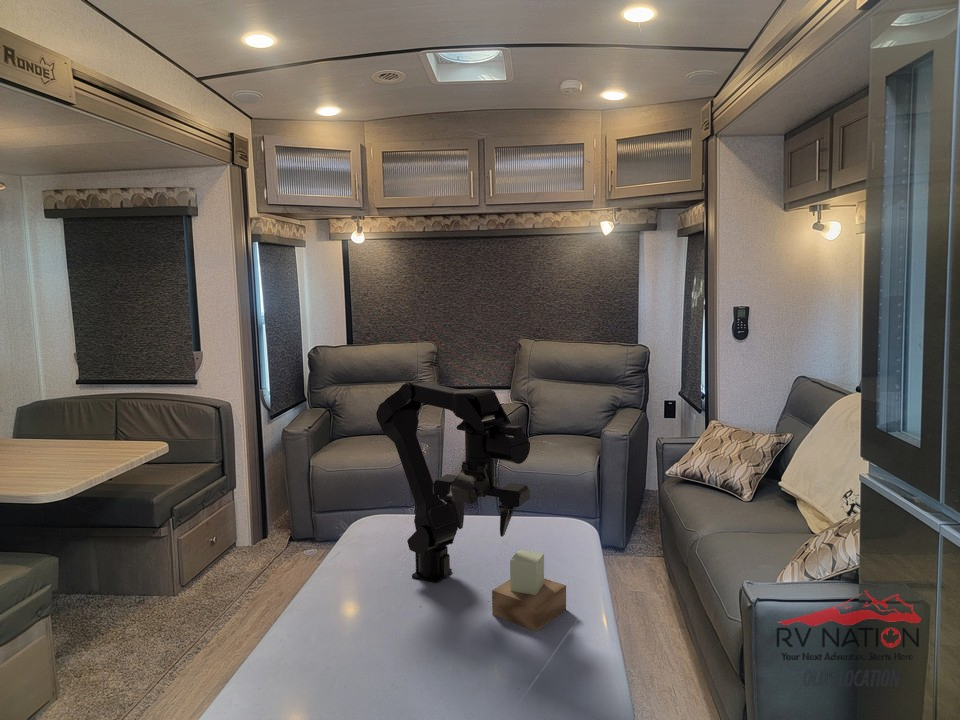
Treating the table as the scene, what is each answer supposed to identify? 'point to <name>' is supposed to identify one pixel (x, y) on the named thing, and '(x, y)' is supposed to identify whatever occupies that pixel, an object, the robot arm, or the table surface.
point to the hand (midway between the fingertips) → (481, 532)
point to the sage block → (527, 572)
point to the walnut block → (529, 604)
